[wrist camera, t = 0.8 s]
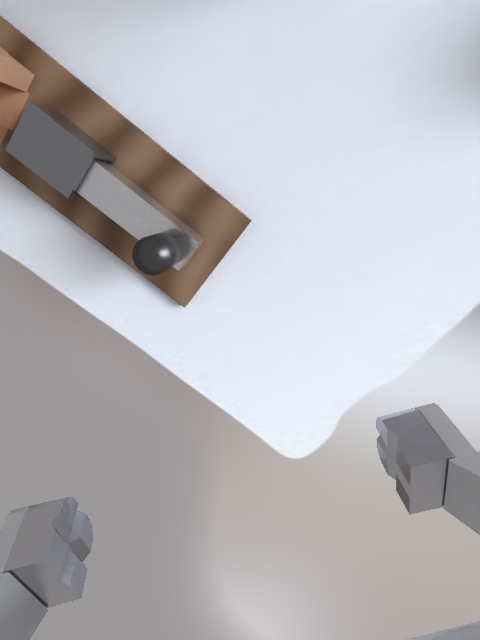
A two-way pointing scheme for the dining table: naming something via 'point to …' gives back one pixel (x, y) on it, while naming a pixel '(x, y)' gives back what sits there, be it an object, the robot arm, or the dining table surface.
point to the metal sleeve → (55, 148)
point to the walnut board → (123, 172)
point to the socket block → (12, 90)
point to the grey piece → (140, 219)
